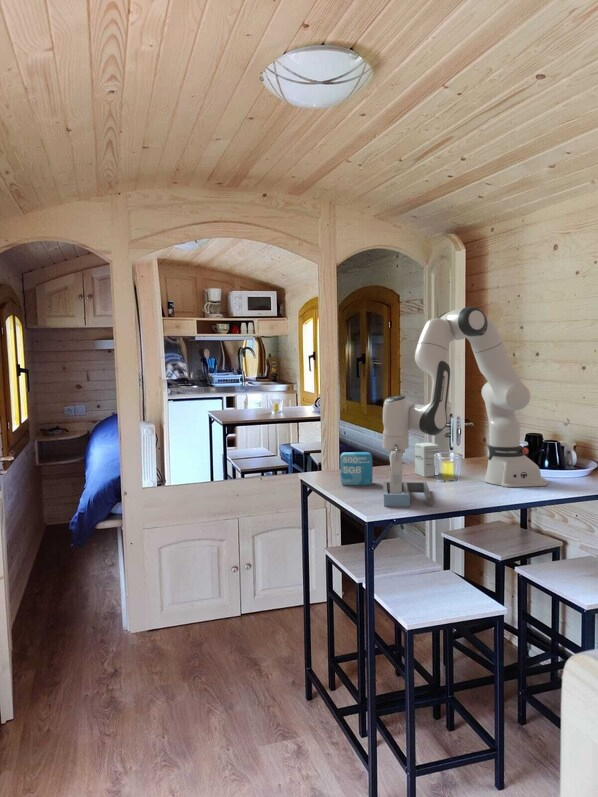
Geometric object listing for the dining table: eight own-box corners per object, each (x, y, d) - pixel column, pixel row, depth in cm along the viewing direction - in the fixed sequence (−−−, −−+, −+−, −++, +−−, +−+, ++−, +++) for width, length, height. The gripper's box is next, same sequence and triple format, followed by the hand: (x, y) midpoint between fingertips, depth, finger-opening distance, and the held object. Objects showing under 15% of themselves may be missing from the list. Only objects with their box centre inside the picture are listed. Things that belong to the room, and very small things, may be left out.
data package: (341, 485, 231) (340, 454, 230) (340, 482, 235) (340, 452, 234) (372, 485, 230) (372, 454, 229) (371, 482, 235) (371, 451, 234)
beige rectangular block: (401, 493, 213) (401, 465, 212) (401, 496, 209) (401, 467, 208) (389, 493, 213) (389, 465, 212) (390, 496, 209) (389, 467, 208)
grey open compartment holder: (426, 490, 221) (426, 479, 220) (432, 507, 199) (432, 495, 198) (383, 489, 223) (383, 479, 222) (384, 506, 201) (384, 494, 200)
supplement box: (414, 473, 248) (414, 443, 247) (430, 472, 251) (430, 442, 249) (423, 477, 241) (423, 446, 240) (439, 475, 244) (439, 444, 242)
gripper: (406, 448, 199) (406, 489, 200) (403, 438, 219) (403, 475, 220) (387, 448, 199) (387, 489, 201) (386, 438, 220) (386, 475, 221)
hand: (395, 482), depth 211 cm, fingers open, 4 cm apart
